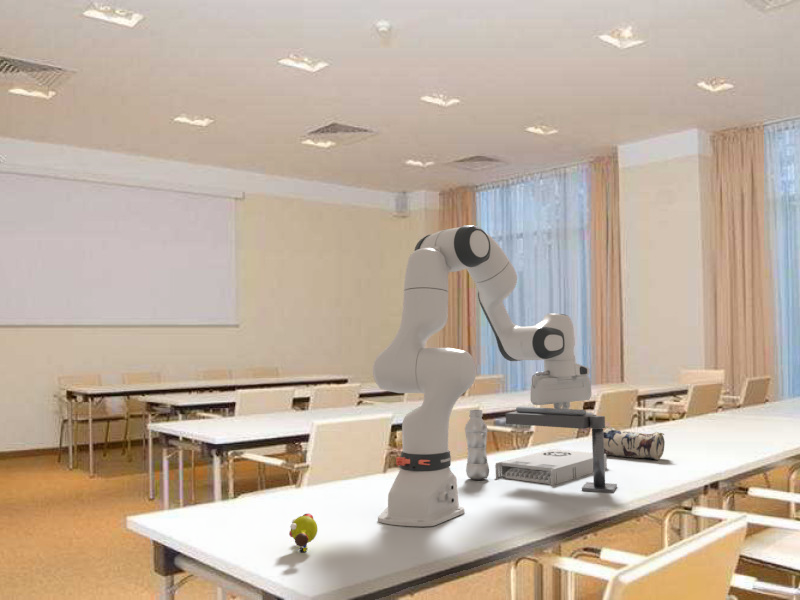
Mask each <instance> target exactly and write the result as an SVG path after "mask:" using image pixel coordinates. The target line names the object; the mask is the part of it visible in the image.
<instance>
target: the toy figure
mask: <svg viewBox="0 0 800 600" xmlns="http://www.w3.org/2000/svg"><path fill="white" fill-rule="evenodd" d="M289 527H290V530H289V536H290V538H293V540H294V542H295V544H296V545H297V546H298V547H299V552H300V553H307V550H308V543H310V542H312V541H313V540H314V539H315V538H316V536H317V534H318V524H317V521H315V519H314V516H313V515H312V514H311V513H304V514H303V515H302V516H301V515H300V516H298V517H296V518H294V519H292V520H291V524H290V526H289Z"/></svg>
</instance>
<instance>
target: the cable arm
mask: <svg viewBox="0 0 800 600" xmlns="http://www.w3.org/2000/svg"><path fill="white" fill-rule="evenodd" d="M505 424H506V425H518V426H520V425H522V426H535V427H536V426H537V427H551V428H563V429H564V428H565V429H566V428H567V429H579V430H580V429H583V430H584V429H592V428H594V429H606V428H605V426H606V417H605V415H597V414H591V413H589V414H588V413H587V411H586V410H584V409H570V408H569V409H562V408H561V409H555V408H554V407H534V406H533V407H531V406H517V407H516V408H515V411H511V412H506V413H505Z"/></svg>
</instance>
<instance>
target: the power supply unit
mask: <svg viewBox="0 0 800 600" xmlns="http://www.w3.org/2000/svg"><path fill="white" fill-rule="evenodd" d="M607 462H608V460H607V455H606V454H604V463H605V470H606V469H607V467H608V465H607V464H608V463H607ZM494 469H495V478H496V479H497V478H498V479H499V478H501V477H502V478H504V479H505V480H508V479H509V480H514V481H524V482H529V483H530V482H531V483H538V484H543V485H545V484H547V485H550V486H553V485H557V484H558V485H559V484H561V483H563V482H564V483H565V482H568V481H570V479H571V480H573V479H576V478H580V477H582V476H587V475H590V474H593V452H589V451H588V452H587V451H580V450H579V451H578V450H567V449H558V448H552V449H548V450H544V451H540V452H535V453H532V454H527V455H523V456H520V457H519V456H518V457H514V458H511V459H506V460H503V461H499V462H496V463H495V467H494ZM567 480H568V481H567Z"/></svg>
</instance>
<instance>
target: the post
mask: <svg viewBox="0 0 800 600" xmlns="http://www.w3.org/2000/svg"><path fill="white" fill-rule="evenodd" d="M603 431H604V428H602V429H594V428H591V437H592V438H591V442H592V443H591V445H592V453H593V473H592V474H593V475H592V477H593V482H590V481H589V482H588V481H587V482H585V484H584V485H582V487H581V491H582V492H593V493H594V492H596V493H611V494H613V493H615V491H616V489H617V488H618V483H607V482H606V469H605V463H604V433H603Z"/></svg>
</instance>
